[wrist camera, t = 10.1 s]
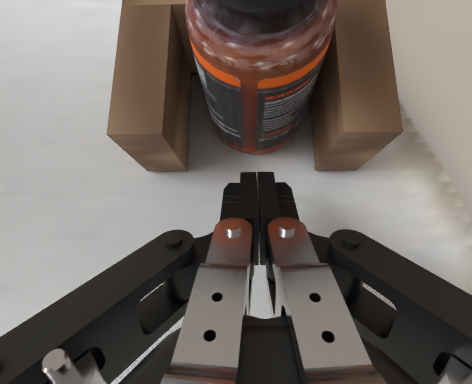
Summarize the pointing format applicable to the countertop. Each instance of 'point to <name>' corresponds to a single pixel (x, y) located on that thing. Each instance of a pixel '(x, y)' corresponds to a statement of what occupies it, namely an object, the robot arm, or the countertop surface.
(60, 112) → the countertop surface
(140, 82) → the walnut u-shaped holder
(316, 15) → the supplement bottle
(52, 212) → the countertop surface
